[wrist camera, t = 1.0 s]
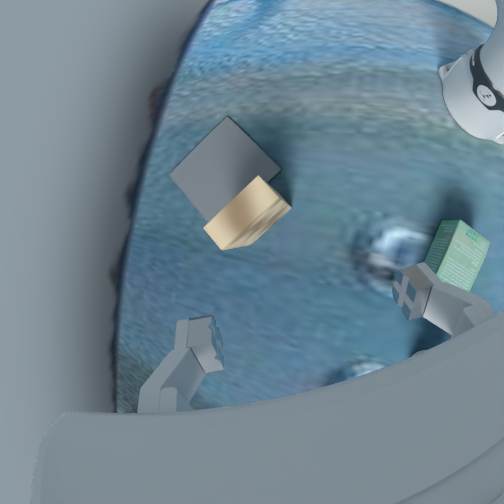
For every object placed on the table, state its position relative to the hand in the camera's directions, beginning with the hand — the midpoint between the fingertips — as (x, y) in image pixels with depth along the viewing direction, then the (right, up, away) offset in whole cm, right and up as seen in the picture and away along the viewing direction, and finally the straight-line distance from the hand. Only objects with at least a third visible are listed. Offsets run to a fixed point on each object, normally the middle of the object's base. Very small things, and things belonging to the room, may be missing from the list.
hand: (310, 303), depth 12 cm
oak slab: (0, +8, +34) cm, 35 cm away
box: (+29, 0, +28) cm, 40 cm away
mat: (-8, +16, +35) cm, 40 cm away
